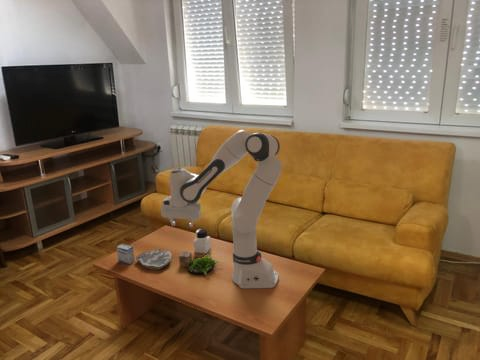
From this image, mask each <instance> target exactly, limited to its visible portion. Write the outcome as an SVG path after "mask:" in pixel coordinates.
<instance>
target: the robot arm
mask: <svg viewBox="0 0 480 360" xmlns="http://www.w3.org/2000/svg"><path fill="white" fill-rule="evenodd" d="M280 144H281V143H280V141H279V140H278V139H277V138H276V137H275V136H273V135H271V134H268V133H264V132H254V133H252V134H251V133H250V132H249V131H248V130H245V129H240V130H237V132H235V133H233V134H232V135H231V136H229V137H228V138H227V139H226V140H225V141H224V142H223V143H222V144H221V145H220V147H219V148H218V149H217V151H216V152H215V154H214V155H213V157H212V158H211V160H210V162H209V163H208V165H207V166H206V167H205V168H204V169H203V171H201V172H200V173H199V174H196V173H193V172H191V171H188V169H186V168H184V167H179V168H176V169H173V170H172V171H171V172H170V173H169V188H170V195H168V196H166V197H165V198H164V199H163V200H162V201H161V204H162V205H161V207H160V210H161V211H160V212H161V217H163V218H167V219H168V221H169V222H170V224H171V226H174V227H175V225H176V221H175V220H174V219H181V220H190V222H189V223H188V226H189V227H188V228H193V227H194V223H195V221H198V220H200V218H202V211H201V208H202V207H201V203H200V202H199V200H200V198H201V197H202V195H203V194H204V192H205V191H206V189H207V188H208V186H209V185H210V184H211V183H212V182H213V181H214V180H215V179H216V178H217V177H219V176H220V175H221V174H223V173H225V172H226V171H227V170H228V169H230V168H232V167H233V166H235V165H236V164H237V163H239V162H240V161H241V160H242V159H243V158H244V157H245V156H246V155H247V154H249V155H250V156H251V157H252V158H253V160H254V162H255V161H256V162H257V166H256V168H255V170H254V171H253V173H252V174H251V177H250V179H249V180H248V182H247V184H246V185H245V187H244V190H243V193H242V196H239V197H237V198H235V199H234V200H233V202H232V205H231V207H230V208H231V209H230V210H231V211H230V213H231V227H232V242H233V243H232V245H233V252H232V261H233V262H232V263H233V271H232V276H231V281H232V282H233V283H234V284H236V285H238V287H239V288H240V289H272V288H274V287H275V286H276V285H277V284H278V281H279V273H278V272H277V271H276V270H274V268H273V265H272V263H270V262H269V261H268V260H265V259H264V258H263V257H262V251H259V250H258V246H257V245H258V243H257V238H258V237H257V229H256V226H257V224H258V220H259V219H260V216H261V214H262V211H263V209H264V206H265V204H266V202H267V200H268V198H269V196H270V195H271V192H272V191H273V189H274V187H275V186H276V185H277V182H278V180H279V178H280V175H281V173H282V170H283V167H284V165H283V163H282V161H281V159H279V157H277V155H278V153H279V152H280V147H281V145H280Z"/></svg>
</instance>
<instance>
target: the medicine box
mask: <svg viewBox="0 0 480 360" xmlns="http://www.w3.org/2000/svg"><path fill="white" fill-rule="evenodd" d="M116 255H117V260H118V262H119V263H122V264H127V265H131V264H132V263H134V262H135V260H136V258H135V252H134V246H132V245H127V244H123V243H121V244H119V245H118V246H116Z"/></svg>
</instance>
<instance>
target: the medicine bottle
mask: <svg viewBox="0 0 480 360" xmlns="http://www.w3.org/2000/svg"><path fill="white" fill-rule="evenodd" d="M207 231H208V230H207V229H205V228H201V229H200V228H199V229H197V230H196V231H195V239H194V240H193V249H194V253H199V254H207V253H208V252H209V251H210V249H211V248H212V245H211V236H209V235H208V232H207Z"/></svg>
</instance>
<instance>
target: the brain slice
mask: <svg viewBox="0 0 480 360" xmlns="http://www.w3.org/2000/svg"><path fill="white" fill-rule="evenodd" d="M135 260H136V261H137V262H138V263H139V264H140V265H141V266H143V268H145V269H147V270H154V271H155V270H157V271H159V270H162V269H163V268H165V267H166V266H168V265H169V264H170V262H171V261H172V252H171V251H169V250H166V251H165V250H164V249H162V248H159V249H153V250H149V251H146V252H142V253H140V254H138V256H137V255H136V257H135Z"/></svg>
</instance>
